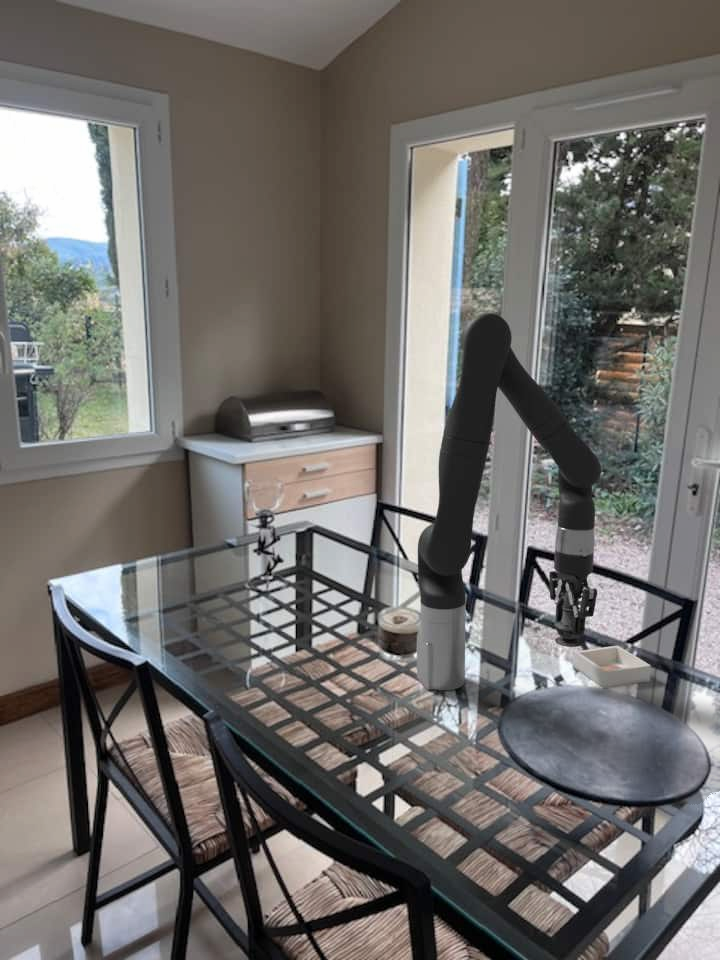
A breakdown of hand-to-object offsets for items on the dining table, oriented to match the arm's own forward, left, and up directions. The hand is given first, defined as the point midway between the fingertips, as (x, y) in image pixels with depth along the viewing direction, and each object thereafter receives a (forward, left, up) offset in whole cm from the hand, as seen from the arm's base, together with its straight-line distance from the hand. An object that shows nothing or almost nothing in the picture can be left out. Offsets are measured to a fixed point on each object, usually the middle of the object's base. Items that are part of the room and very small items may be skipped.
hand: (569, 628), depth 147 cm
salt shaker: (0, 0, -3) cm, 3 cm away
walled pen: (+10, 0, -12) cm, 16 cm away
